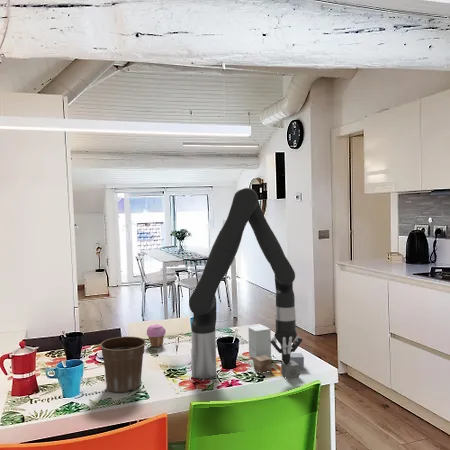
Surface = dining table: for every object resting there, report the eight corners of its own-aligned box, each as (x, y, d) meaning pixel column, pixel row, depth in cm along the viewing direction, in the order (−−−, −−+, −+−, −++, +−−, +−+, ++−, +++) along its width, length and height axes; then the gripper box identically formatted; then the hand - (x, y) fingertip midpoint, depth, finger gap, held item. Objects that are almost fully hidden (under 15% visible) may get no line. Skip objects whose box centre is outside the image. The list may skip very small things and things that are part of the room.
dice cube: (293, 373, 170) (293, 360, 170) (299, 377, 165) (298, 364, 165) (281, 374, 168) (281, 361, 168) (286, 379, 164) (286, 366, 163)
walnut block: (260, 373, 170) (260, 361, 170) (254, 369, 174) (253, 357, 174) (271, 371, 172) (271, 358, 172) (264, 367, 177) (264, 355, 176)
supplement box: (271, 358, 186) (271, 329, 186) (255, 361, 184) (255, 331, 183) (263, 353, 193) (263, 324, 193) (248, 355, 191) (247, 326, 190)
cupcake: (160, 349, 201) (160, 327, 201) (143, 347, 204) (143, 326, 204) (168, 343, 210) (168, 322, 209) (152, 342, 213) (151, 321, 212)
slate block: (291, 369, 173) (291, 357, 173) (289, 365, 178) (289, 353, 178) (303, 369, 173) (303, 357, 173) (301, 365, 178) (301, 352, 178)
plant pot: (150, 377, 168) (149, 335, 168) (142, 395, 152) (141, 349, 152) (108, 378, 168) (106, 336, 168) (95, 396, 152) (94, 350, 152)
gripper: (271, 321, 161) (272, 368, 161) (305, 319, 163) (306, 365, 164) (265, 316, 168) (266, 361, 169) (298, 314, 171) (299, 358, 171)
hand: (286, 363), depth 166 cm, fingers closed
